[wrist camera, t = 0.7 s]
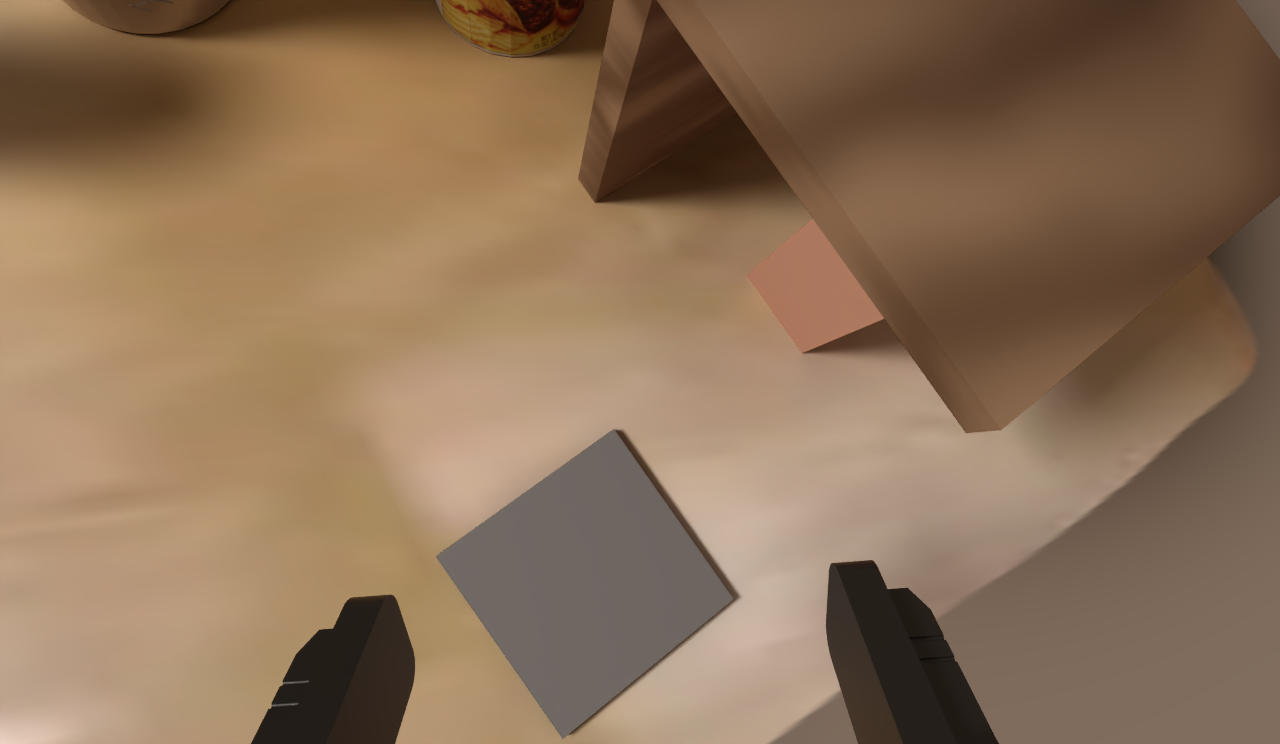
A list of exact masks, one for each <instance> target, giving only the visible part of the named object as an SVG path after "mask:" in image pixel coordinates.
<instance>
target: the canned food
mask: <svg viewBox="0 0 1280 744" xmlns="http://www.w3.org/2000/svg"><path fill="white" fill-rule="evenodd" d="M435 1H436V4H437V6H438V8H439V10H440V12H441V14H442V17H443V18H444V20H445V21H446V22H447V23H448V24H449V26H450V27H451V28H452V29H453V31H454V32H455V33H456V34H457V35H459V36H460V37H461V38H463V39H464V40H466V41H467V42H468V43H470V44H471V45H472V46H475V47H477V48H479V49H482V50H484V51H486V52H489V53H491V54H496V55H502V56H508V57H522V56H532V55H535V54H538V53H541V52H544V51H548V50H550V49H551V48H553V47H554V46H556V45H557V44H559V43H560V42H562V41H564V40H565V39H566V38H567V36H568V35H569V34H570V33H571V32H572V30H573V29H574V28H575V27H576V25H577V23H578V20H579V18H580V16H581V13H582V11H583V6H584V0H435Z"/></svg>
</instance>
